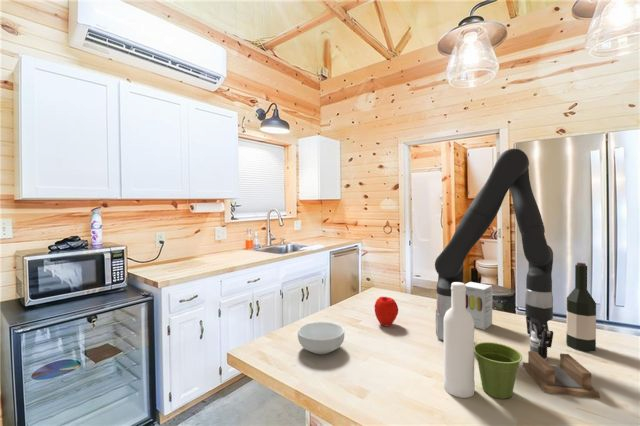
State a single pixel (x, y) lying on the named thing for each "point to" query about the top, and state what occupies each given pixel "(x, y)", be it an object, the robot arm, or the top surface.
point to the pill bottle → (534, 343)
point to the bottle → (458, 345)
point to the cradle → (560, 376)
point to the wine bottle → (581, 314)
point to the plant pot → (497, 368)
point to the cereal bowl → (321, 337)
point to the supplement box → (479, 304)
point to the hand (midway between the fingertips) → (538, 353)
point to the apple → (386, 310)
